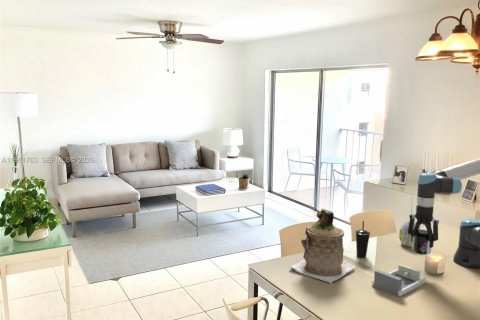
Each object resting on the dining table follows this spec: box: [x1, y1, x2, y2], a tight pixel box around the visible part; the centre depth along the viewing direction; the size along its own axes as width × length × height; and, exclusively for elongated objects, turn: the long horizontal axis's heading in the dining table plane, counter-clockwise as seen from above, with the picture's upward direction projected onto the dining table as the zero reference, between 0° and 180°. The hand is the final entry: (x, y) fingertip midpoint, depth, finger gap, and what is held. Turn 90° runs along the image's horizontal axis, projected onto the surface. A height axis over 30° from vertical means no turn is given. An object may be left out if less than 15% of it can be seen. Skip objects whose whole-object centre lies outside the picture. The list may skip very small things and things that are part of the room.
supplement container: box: [413, 229, 429, 255], centre depth 198 cm, size 7×7×10 cm
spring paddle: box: [397, 264, 422, 281], centre depth 193 cm, size 5×10×5 cm, turn 39°
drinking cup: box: [355, 220, 371, 259], centre depth 221 cm, size 8×8×20 cm
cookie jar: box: [289, 208, 356, 285], centre depth 202 cm, size 25×25×32 cm
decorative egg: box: [398, 219, 422, 248], centre depth 239 cm, size 12×12×15 cm
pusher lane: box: [371, 268, 427, 298], centre depth 189 cm, size 22×14×7 cm, turn 129°
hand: (421, 251), depth 199 cm, fingers closed on supplement container, 7 cm apart
